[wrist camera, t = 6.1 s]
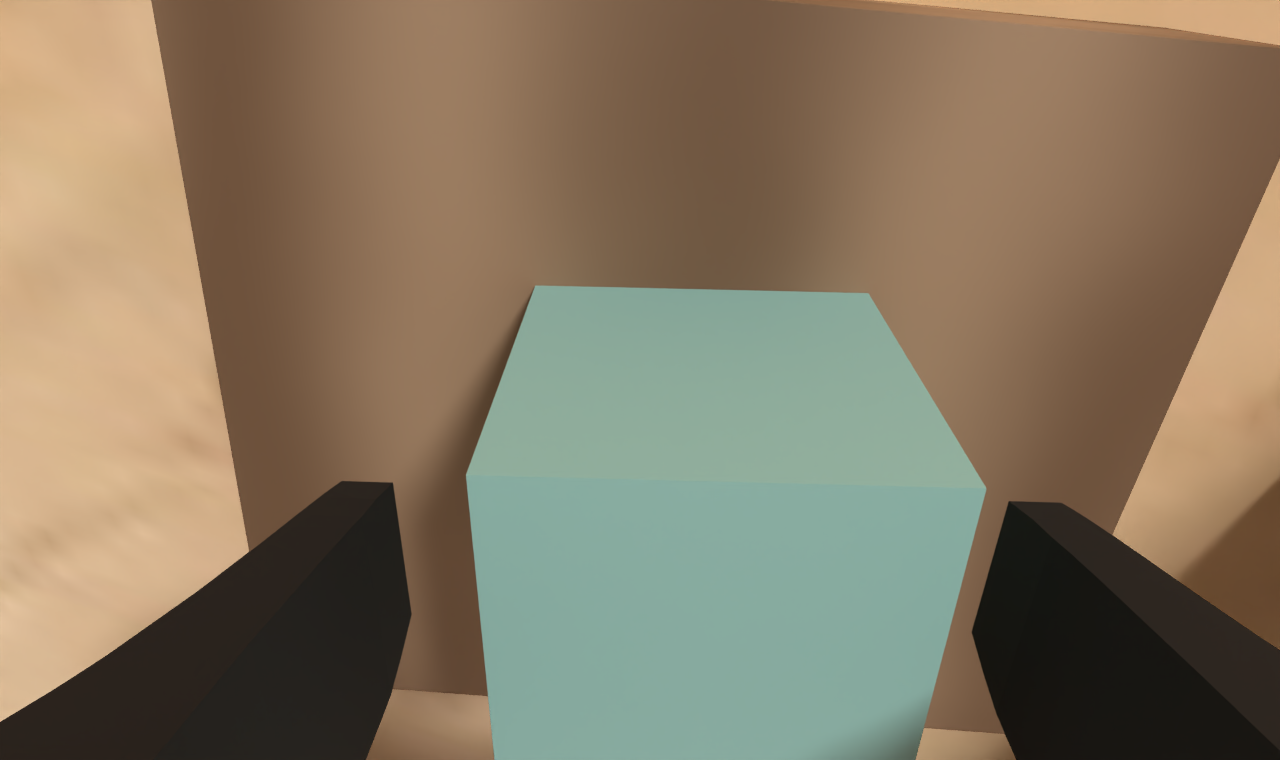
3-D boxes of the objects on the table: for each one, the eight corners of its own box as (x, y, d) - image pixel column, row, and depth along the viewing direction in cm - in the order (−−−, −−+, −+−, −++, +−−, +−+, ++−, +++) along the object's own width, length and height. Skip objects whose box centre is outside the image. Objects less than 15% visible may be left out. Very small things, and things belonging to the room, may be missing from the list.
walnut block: (345, 541, 19) (272, 679, 15) (282, -56, 13) (141, -59, 9) (954, 588, 19) (1022, 735, 15) (1147, 25, 13) (1326, 53, 10)
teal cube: (547, 546, 13) (498, 806, 9) (535, 285, 11) (465, 474, 7) (826, 554, 13) (899, 818, 9) (868, 293, 11) (986, 489, 7)
